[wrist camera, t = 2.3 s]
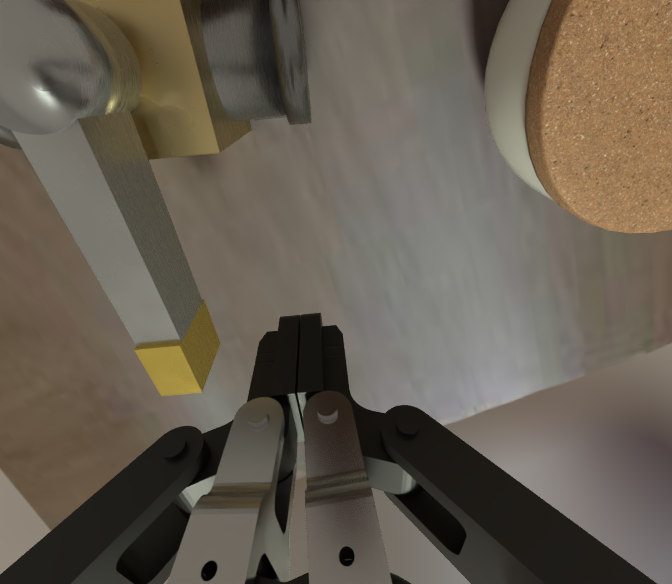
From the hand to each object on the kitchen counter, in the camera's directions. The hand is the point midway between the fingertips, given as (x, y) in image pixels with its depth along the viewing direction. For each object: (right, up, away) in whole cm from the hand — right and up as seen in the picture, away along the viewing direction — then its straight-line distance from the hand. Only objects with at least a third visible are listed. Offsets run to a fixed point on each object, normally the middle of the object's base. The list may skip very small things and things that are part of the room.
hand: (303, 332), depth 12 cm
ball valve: (-7, +13, +5) cm, 16 cm away
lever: (-6, +4, +1) cm, 8 cm away
